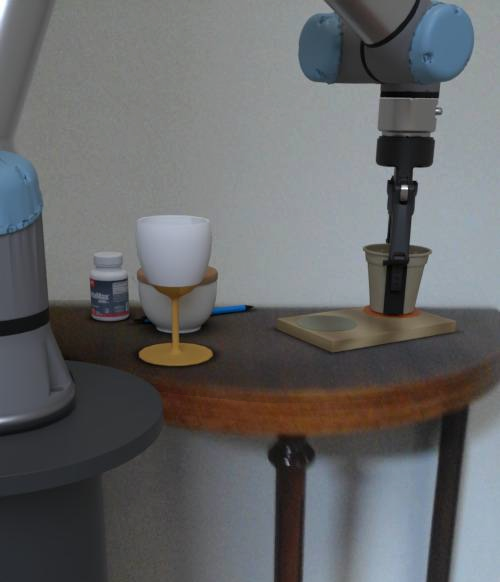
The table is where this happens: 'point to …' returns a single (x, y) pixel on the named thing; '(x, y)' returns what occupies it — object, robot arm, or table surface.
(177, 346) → the cup
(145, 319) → the pen
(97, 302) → the pill bottle
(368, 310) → the circle
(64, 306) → the table surface
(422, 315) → the board
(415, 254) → the flower pot
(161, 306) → the trinket box
